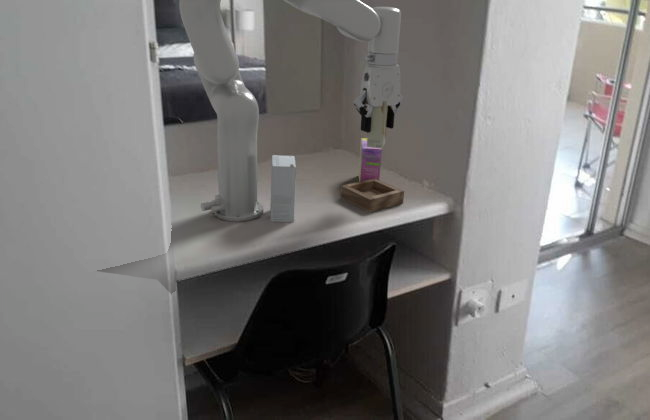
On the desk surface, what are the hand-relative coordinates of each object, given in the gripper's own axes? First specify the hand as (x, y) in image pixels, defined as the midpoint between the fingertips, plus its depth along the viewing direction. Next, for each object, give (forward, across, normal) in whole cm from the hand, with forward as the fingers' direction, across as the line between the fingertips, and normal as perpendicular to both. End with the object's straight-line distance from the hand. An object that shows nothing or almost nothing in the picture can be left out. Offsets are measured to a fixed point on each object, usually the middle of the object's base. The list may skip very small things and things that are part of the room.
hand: (377, 128), depth 155 cm
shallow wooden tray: (+20, 0, 0) cm, 20 cm away
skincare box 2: (+5, 0, 0) cm, 5 cm away
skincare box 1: (+20, -26, +4) cm, 33 cm away
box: (+20, +9, +12) cm, 25 cm away
